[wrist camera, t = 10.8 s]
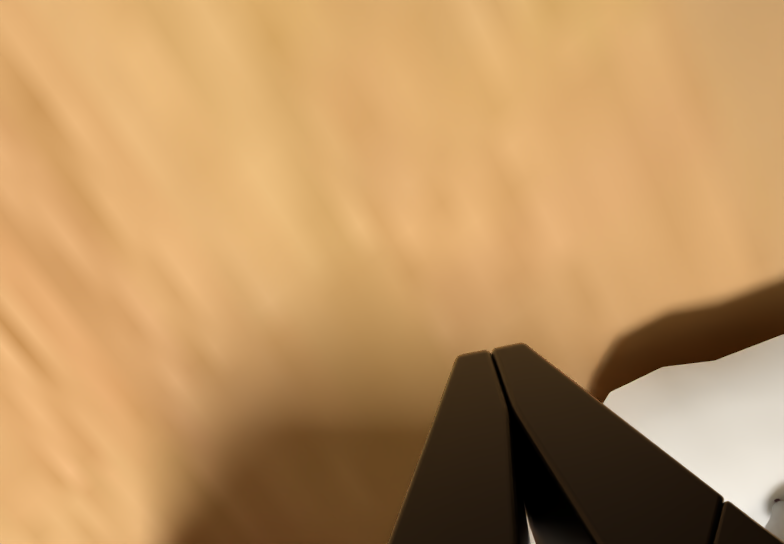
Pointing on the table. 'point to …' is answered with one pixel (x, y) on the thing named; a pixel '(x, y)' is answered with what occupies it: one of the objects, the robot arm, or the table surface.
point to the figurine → (719, 424)
